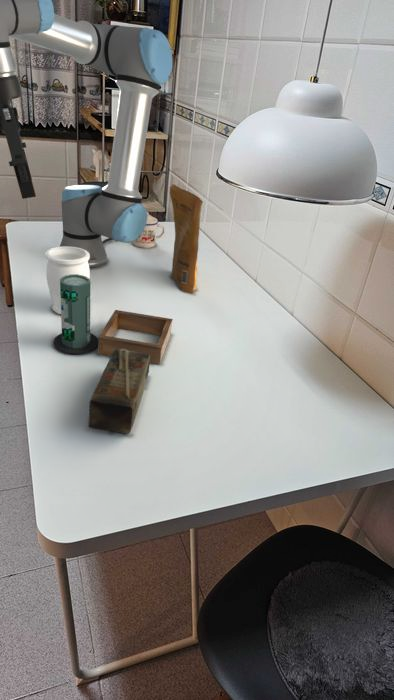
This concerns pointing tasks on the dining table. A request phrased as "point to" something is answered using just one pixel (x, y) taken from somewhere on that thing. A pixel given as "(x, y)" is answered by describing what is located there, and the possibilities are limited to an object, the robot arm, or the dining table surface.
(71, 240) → the robot arm
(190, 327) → the dining table surface
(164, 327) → the wooden square frame
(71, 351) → the coaster
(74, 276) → the can
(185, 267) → the pancake mix bag
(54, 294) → the jar
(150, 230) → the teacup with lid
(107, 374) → the beverage carton
